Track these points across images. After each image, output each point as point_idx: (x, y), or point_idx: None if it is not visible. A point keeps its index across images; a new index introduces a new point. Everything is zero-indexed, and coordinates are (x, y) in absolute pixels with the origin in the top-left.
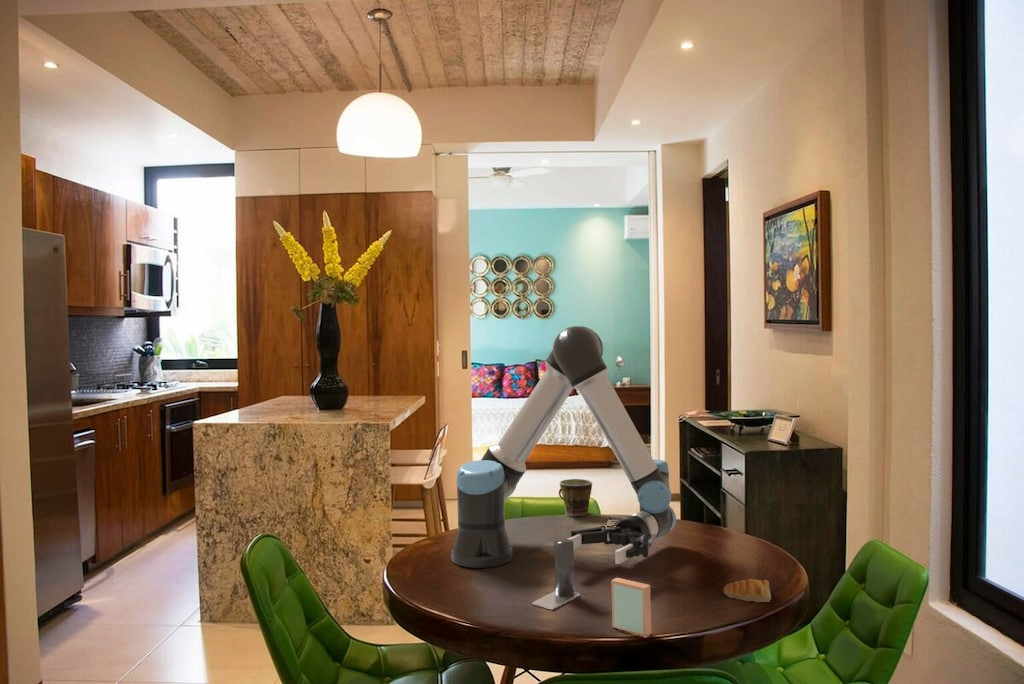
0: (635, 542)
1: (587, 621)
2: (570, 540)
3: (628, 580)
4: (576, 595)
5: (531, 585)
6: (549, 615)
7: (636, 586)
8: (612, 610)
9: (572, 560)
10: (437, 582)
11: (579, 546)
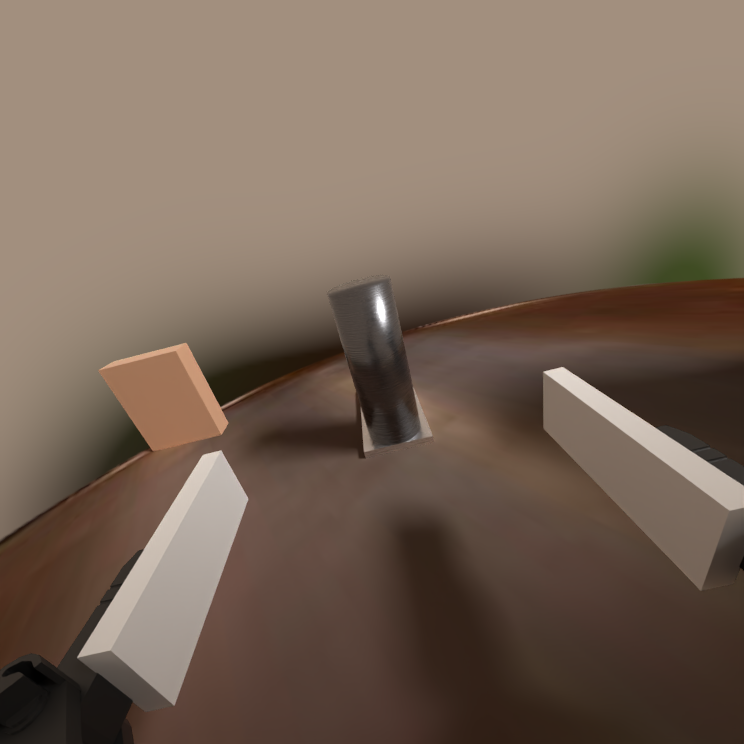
0: (28, 660)
1: (279, 410)
2: (345, 292)
3: (147, 357)
4: (363, 441)
5: (525, 411)
6: (351, 384)
7: (131, 357)
8: (212, 395)
9: (343, 348)
10: (650, 312)
11: (666, 552)
